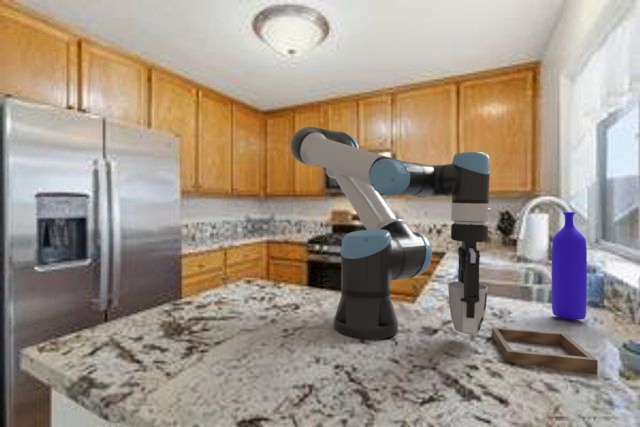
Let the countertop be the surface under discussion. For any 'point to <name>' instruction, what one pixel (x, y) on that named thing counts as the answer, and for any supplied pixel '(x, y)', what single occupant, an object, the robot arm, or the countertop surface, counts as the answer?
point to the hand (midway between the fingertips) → (466, 325)
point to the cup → (457, 306)
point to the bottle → (569, 272)
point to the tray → (576, 362)
